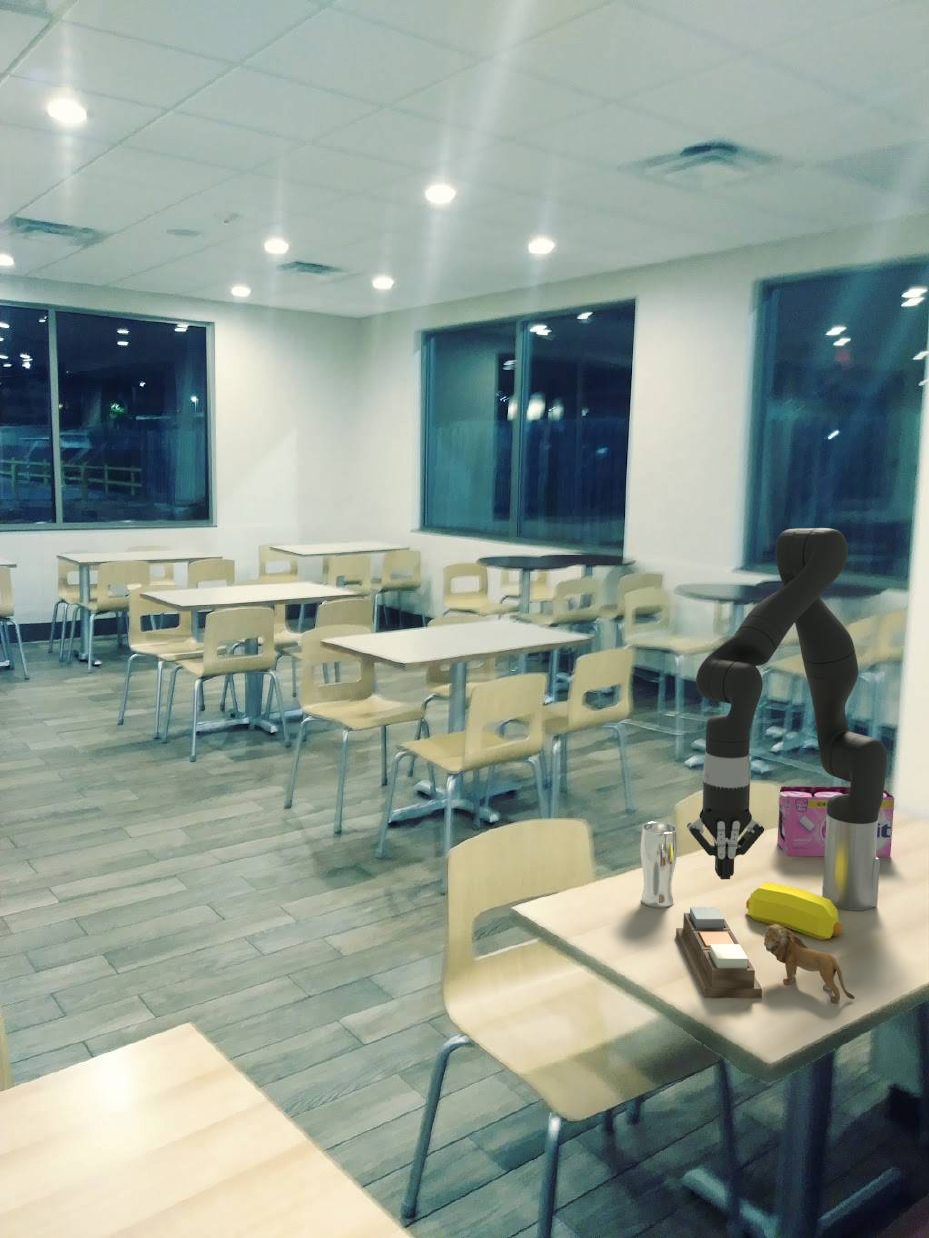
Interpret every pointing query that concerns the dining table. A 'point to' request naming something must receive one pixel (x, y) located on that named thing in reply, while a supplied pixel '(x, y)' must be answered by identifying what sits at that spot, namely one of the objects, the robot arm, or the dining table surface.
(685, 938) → the button board
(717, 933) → the terracotta button
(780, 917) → the ripe banana
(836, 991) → the lion figurine
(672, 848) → the beer glass
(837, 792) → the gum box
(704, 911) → the slate button
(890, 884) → the dining table surface
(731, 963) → the ivory button
